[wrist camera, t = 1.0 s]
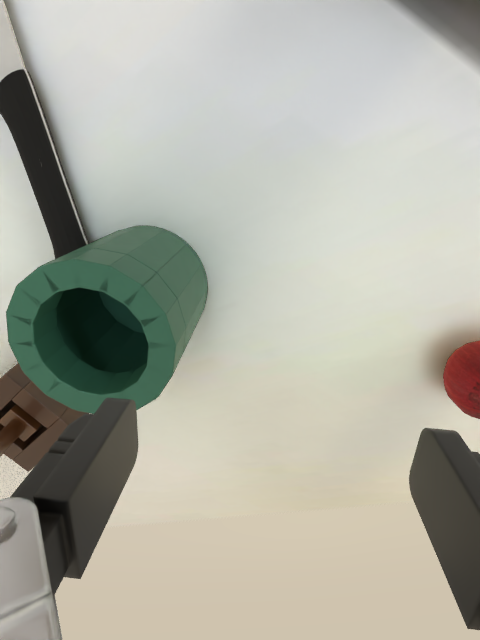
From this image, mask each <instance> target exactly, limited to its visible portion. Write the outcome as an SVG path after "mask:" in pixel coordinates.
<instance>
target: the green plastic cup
mask: <svg viewBox="0 0 480 640" xmlns="http://www.w3.org/2000/svg"><path fill="white" fill-rule="evenodd" d="M207 290H208V286H207V277H206V273H205V270H204V267H203V265H202V262H201V260H200V259H199V257H198V255H197V254H196V252H195V251H194V250H193V249H192V248H191V246H190V245H189V244H187V243H186V242H185V241H184V240H183V239H182V238H180V237H179V236H177V235H175V234H174V233H172V232H170V231H167V230H165V229H162V228H158V227H154V226H135V227H130V228H127V229H123V230H119V231H116V232H114V233H112V234H110V235H108V236H105V237H103V238H101V239H99V240H96V241H94V242H92V243H90V244H88V245H85V246H83V247H81V248H79V249H77V250H74V251H72V252H70V253H68V254H66V255H63V256H61V257H59V258H57V259H55V260H52V261H50V262H48V263H46V264H44V265H42V266H40V267H38V268H37V269H36V270H35V271H33V272H32V273H31V274H30V275H29V276H27V277H26V278H25V279H24V280H23V281H21V282H20V283H19V284H18V285H17V286H16V288H15V291H14V294H13V296H12V299H11V301H10V304H9V306H8V309H7V311H6V313H7V314H6V318H7V329H8V341H9V345H10V347H11V349H12V351H13V353H14V355H15V357H16V359H17V361H18V363H19V365H20V367H21V369H22V371H24V374H25V375H26V376H27V377H28V378H29V379H30V380H31V381H32V382H33V383H34V384H35V385H36V386H37V387H38V388H39V389H40V390H41V391H42V392H43V393H44V394H46V395H47V396H49V397H51V398H53V399H55V400H56V401H58V402H60V403H62V404H64V405H66V406H68V407H69V408H71V409H73V410H74V409H75V410H76V411H81V412H86V413H92V414H94V413H95V412H96V411H97V409H98V408H99V406H100V405H101V404H102V402H103V401H104V400H105V399H106V398H119V399H130V400H134V401H135V404H136V410H138V409H139V408H141V407H143V406H144V405H146V404H148V403H150V402H151V401H153V400H155V399H156V398H157V397H158V396H159V395H160V394H161V392H162V391H163V389H164V388H165V386H166V385H167V383H168V382H169V380H170V379H171V377H172V375H173V373H174V371H175V369H176V367H177V365H178V363H179V361H180V358H181V356H182V354H183V352H184V350H185V348H186V346H187V344H188V342H189V340H190V338H191V335H192V333H193V331H194V329H195V327H196V325H197V323H198V321H199V319H200V316H201V314H202V312H203V310H204V308H205V302H206V298H207Z"/></svg>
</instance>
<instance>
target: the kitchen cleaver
mask: <svg viewBox="0 0 480 640" xmlns="http://www.w3.org/2000/svg"><path fill="white" fill-rule="evenodd" d="M0 114H1V115H2V117H3V118H4V120H5V122H6V123H7V125H8V127H9V129H10V131H11V134H12V136H13V138H14V141H15V143H16V146H17V148H18V151H19V153H20V156H21V159H22V161H23V164H24V167H25V170H26V172H27V175H28V178H29V180H30V183H31V186H32V188H33V191H34V194H35V197H36V199H37V202H38V205H39V208H40V210H41V213H42V216H43V219H44V221H45V224H46V227H47V230H48V233H49V236H50V239H51V242H52V245H53V249H54V254H55V259H57V258H59V257H61V256H63V255H66V254H68V253H70V252H72V251H74V250H77V249H79V248H81V247H83V246H85V245H88V244H89V242H88V239H87V236H86V234H85V231H84V228H83V225H82V222H81V219H80V216H79V214H78V211H77V208H76V205H75V202H74V199H73V197H72V194H71V191H70V188H69V185H68V182H67V179H66V176H65V173H64V171H63V168H62V165H61V162H60V159H59V156H58V153H57V150H56V147H55V144H54V141H53V138H52V135H51V132H50V129H49V126H48V123H47V120H46V117H45V114H44V112H43V109H42V106H41V103H40V100H39V98H38V95H37V92H36V89H35V87H34V84H33V81H32V79H31V76H30V74H29V72H28V71H27V70H26V68H25V65H24V61H23V58H22V55H21V52H20V49H19V46H18V43H17V40H16V36H15V33H14V30H13V27H12V24H11V21H10V18H9V15H8V12H7V9H6V5H5V2H4V0H0Z"/></svg>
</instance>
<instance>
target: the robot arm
mask: <svg viewBox="0 0 480 640" xmlns="http://www.w3.org/2000/svg"><path fill="white" fill-rule="evenodd" d="M137 452H138V431H137V415H136V404H135V401H134V400H130V399H119V398H106V399H105V400H104V401H103V402H102V404H101V405H100V406H99V408H98V409H97V411H96V412H95V413H94V414H84V415H82V416H81V417H79V418H78V419H76V420H75V421H73V422H72V423H70V424H69V425H68V426H67V427H66V429H65V430H64V431H63V432H62V434H61V435H60V436H59V437H58V440H57V441H55V442H54V444H53V445H52V446H51V447H50V449H49V451H48V452H46V453H45V455H44V456H43V457H42V458H41V460H40V461H39V462H38V463H37V465H36V466H35V467H34V468H33V470H32V471H31V472H30V473H29V475H28V476H27V477H26V478H25V480H24V481H23V482H22V483H21V485H20V486H19V487H18V488H17V489H16V491H15V492H14V493H13V494H12V496H11V497H10V498H5V499H1V500H0V640H62V634H61V629H60V623H59V617H58V611H57V606H56V600H55V593H56V590H57V589H58V587H59V585H60V583H61V581H62V579H63V577H69V578H77V579H81V577H82V574H83V572H84V570H85V568H86V566H87V564H88V562H89V560H90V558H91V555H92V553H93V551H94V549H95V547H96V545H97V542H98V541H99V539H100V536H101V534H102V532H103V530H104V528H105V526H106V524H107V522H108V520H109V518H110V515H111V513H112V511H113V509H114V507H115V505H116V503H117V501H118V499H119V496H120V494H121V492H122V490H123V488H124V486H125V484H126V482H127V480H128V477H129V475H130V473H131V471H132V469H133V467H134V464H135V461H136V458H137ZM409 485H410V491H411V495H412V498H413V500H414V502H415V505H416V507H417V509H418V512H419V514H420V517H421V519H422V521H423V524H424V526H425V528H426V531H427V533H428V536H429V538H430V540H431V543H432V545H433V547H434V550H435V552H436V555H437V557H438V559H439V562H440V564H441V566H442V569H443V571H444V574H445V576H446V578H447V581H448V583H449V585H450V588H451V590H452V593H453V595H454V597H455V600H456V602H457V604H458V607H459V609H460V612H461V614H462V616H463V619H464V621H465V623H466V626H467V628H468V629H475V630H480V454H479V453H478V452H471V451H470V449H469V448H468V446H467V445H466V444H465V442H464V441H463V439H462V438H461V436H460V435H459V434H458V433H457V432H456V431H453V430H442V429H431V428H425V429H423V430H422V432H421V435H420V438H419V441H418V445H417V449H416V452H415V456H414V459H413V463H412V466H411V470H410V475H409Z"/></svg>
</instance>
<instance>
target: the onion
mask: <svg viewBox="0 0 480 640" xmlns="http://www.w3.org/2000/svg"><path fill="white" fill-rule="evenodd" d="M443 379H444V386H445V390H446V392H447V394H448V396H449V397H450V399H451V400H452V401H453V402H454V403H455V404H456V405H457V406H458V407H459V408H460V409H461V410H462V411H463V412H464V413H466V414H468V415H469V416H471V417H475V418H478V419H480V341H475V342H471V343H467V344H465V345H463V346H462V347H460V348H458V349H457V350H455V351H454V353H453V354H452V355H451V356H450V357H449V358H448V360H447V363H446V366H445V369H444V374H443Z"/></svg>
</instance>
